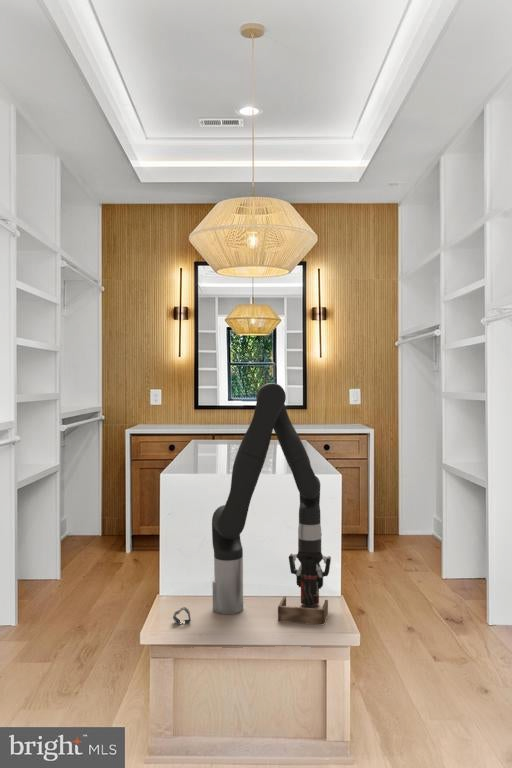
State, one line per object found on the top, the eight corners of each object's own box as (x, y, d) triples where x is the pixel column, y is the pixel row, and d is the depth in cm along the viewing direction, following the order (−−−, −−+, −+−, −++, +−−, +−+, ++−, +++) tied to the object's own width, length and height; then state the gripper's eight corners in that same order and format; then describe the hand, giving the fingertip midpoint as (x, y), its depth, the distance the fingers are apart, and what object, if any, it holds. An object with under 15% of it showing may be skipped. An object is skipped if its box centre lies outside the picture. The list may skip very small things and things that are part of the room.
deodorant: (318, 606, 212) (317, 560, 211) (299, 605, 213) (299, 559, 213) (319, 599, 218) (319, 554, 217) (302, 598, 219) (301, 553, 218)
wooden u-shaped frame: (278, 620, 203) (278, 606, 203) (283, 610, 212) (283, 596, 211) (324, 625, 200) (323, 610, 199) (327, 613, 208) (327, 599, 208)
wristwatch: (182, 625, 204) (171, 615, 203) (194, 614, 204) (183, 603, 203) (182, 630, 201) (170, 620, 200) (194, 619, 201) (183, 608, 200)
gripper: (285, 538, 213) (286, 589, 213) (330, 540, 209) (330, 593, 210) (290, 532, 220) (290, 581, 221) (333, 534, 217) (333, 585, 217)
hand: (309, 587), depth 215 cm, fingers closed on deodorant, 6 cm apart
